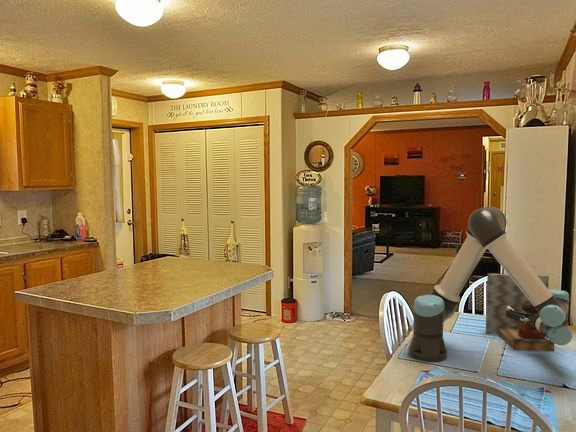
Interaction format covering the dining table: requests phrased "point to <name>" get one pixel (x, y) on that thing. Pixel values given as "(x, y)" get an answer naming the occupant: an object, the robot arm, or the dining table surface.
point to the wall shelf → (498, 298)
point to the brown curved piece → (527, 328)
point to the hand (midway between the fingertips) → (523, 309)
